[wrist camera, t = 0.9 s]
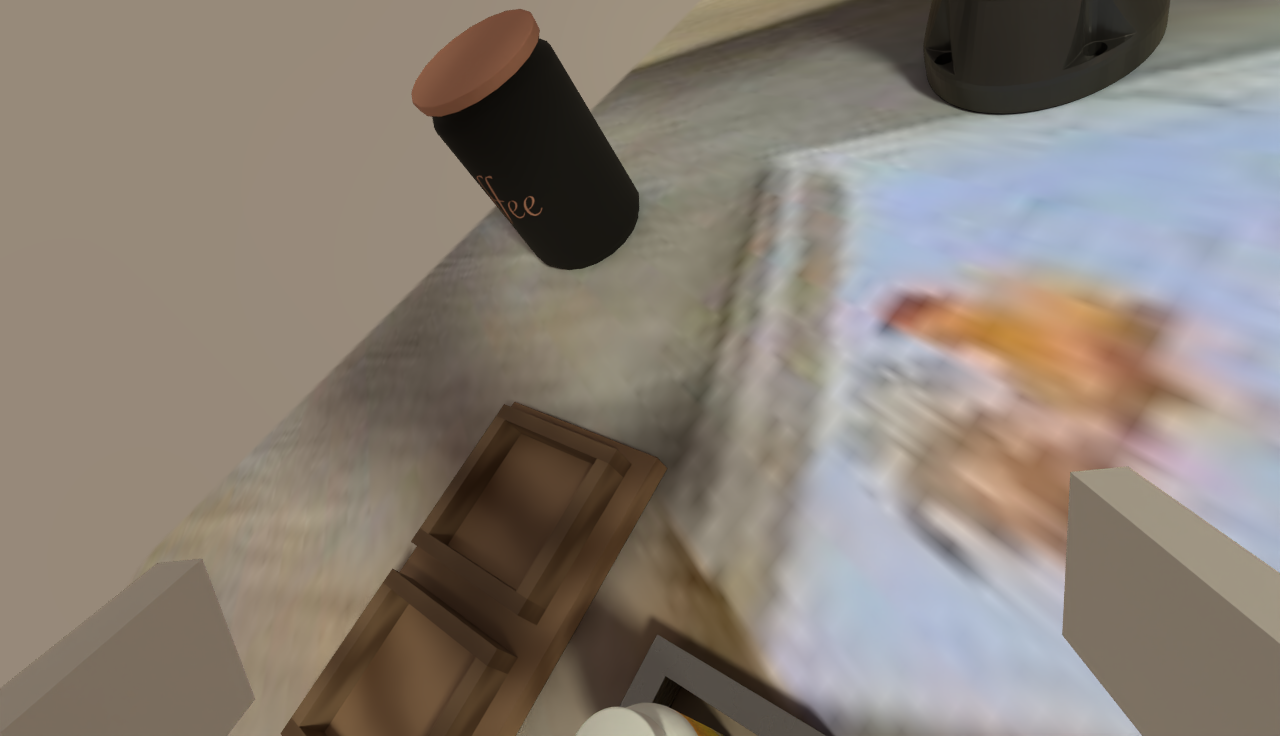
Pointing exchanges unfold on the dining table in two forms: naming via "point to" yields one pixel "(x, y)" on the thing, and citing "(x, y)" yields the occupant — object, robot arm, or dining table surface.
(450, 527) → the walnut rack
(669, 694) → the can holder
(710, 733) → the supplement bottle
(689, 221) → the dining table surface
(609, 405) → the dining table surface
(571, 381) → the dining table surface
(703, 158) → the dining table surface
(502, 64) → the coffee jar
